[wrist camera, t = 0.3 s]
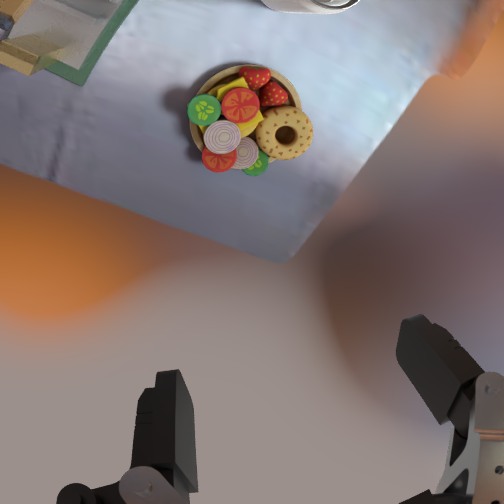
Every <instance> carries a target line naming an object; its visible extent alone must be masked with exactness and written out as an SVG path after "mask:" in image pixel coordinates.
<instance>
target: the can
mask: <svg viewBox="0 0 504 504" xmlns="http://www.w3.org/2000/svg"><path fill="white" fill-rule="evenodd" d="M261 1H262V2H263V3H264V4H265V5H266V6H267V7H269V8H270V9H273V10H275V11H279V12H284V13H308V14H334V13H339V12H342V11H344V10H346V9H348V8H350V7H352V6H354V5H355V4H356V3H358V2H359V1H360V0H261Z"/></svg>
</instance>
